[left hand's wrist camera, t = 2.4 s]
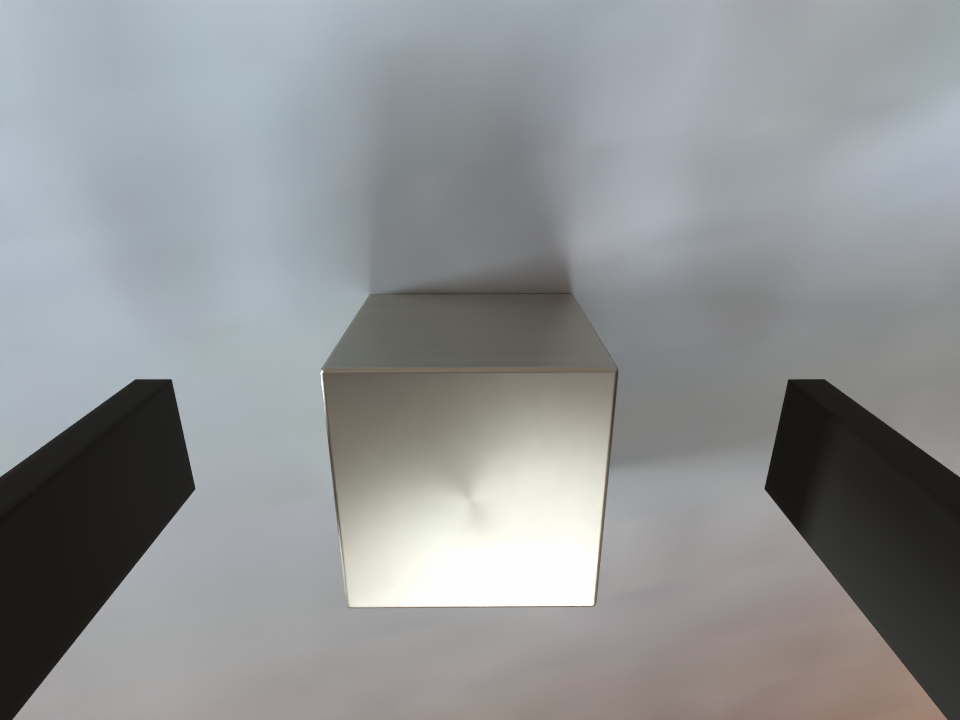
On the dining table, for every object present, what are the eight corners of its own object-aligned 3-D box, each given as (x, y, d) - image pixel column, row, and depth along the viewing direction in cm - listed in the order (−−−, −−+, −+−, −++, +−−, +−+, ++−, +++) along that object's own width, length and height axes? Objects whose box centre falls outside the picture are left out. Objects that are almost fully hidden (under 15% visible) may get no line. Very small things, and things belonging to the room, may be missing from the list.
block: (573, 292, 14) (620, 367, 10) (562, 474, 16) (596, 608, 11) (368, 293, 14) (318, 369, 10) (382, 475, 16) (345, 609, 11)
